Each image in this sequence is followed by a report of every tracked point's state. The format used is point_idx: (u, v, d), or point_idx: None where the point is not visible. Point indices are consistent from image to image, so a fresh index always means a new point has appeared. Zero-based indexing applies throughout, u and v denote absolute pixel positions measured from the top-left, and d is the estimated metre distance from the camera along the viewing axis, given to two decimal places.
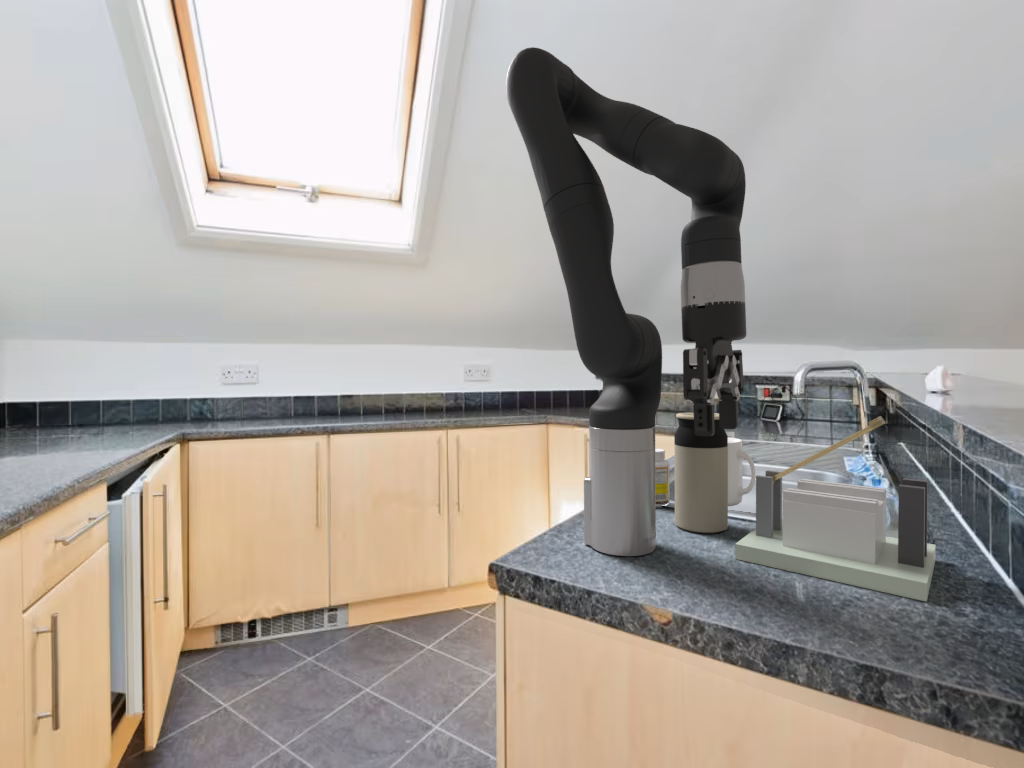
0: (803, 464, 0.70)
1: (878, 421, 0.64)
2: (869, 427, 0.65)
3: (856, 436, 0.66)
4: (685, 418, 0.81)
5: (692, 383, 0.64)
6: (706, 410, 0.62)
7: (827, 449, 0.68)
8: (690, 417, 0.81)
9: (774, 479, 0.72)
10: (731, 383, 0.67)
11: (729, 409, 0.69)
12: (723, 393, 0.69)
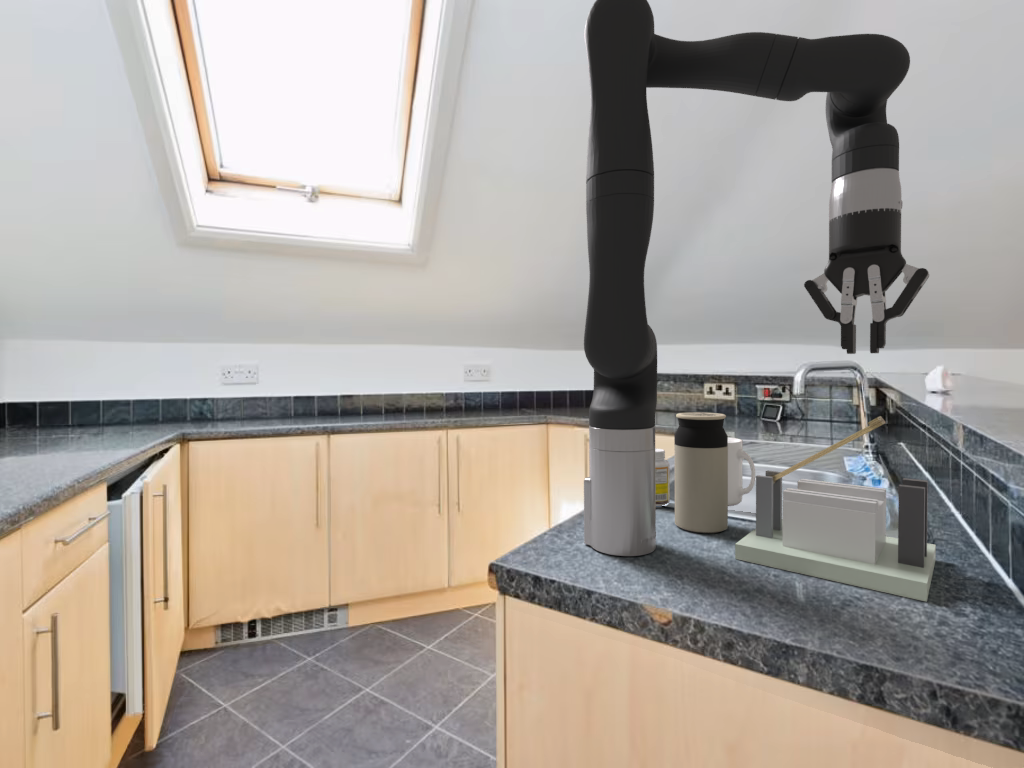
0: (803, 464, 0.70)
1: (878, 421, 0.64)
2: (869, 427, 0.65)
3: (856, 436, 0.66)
4: (685, 418, 0.81)
5: (882, 300, 0.64)
6: (885, 327, 0.65)
7: (827, 449, 0.68)
8: (690, 417, 0.81)
9: (774, 479, 0.72)
10: (856, 300, 0.67)
11: (854, 333, 0.67)
12: None
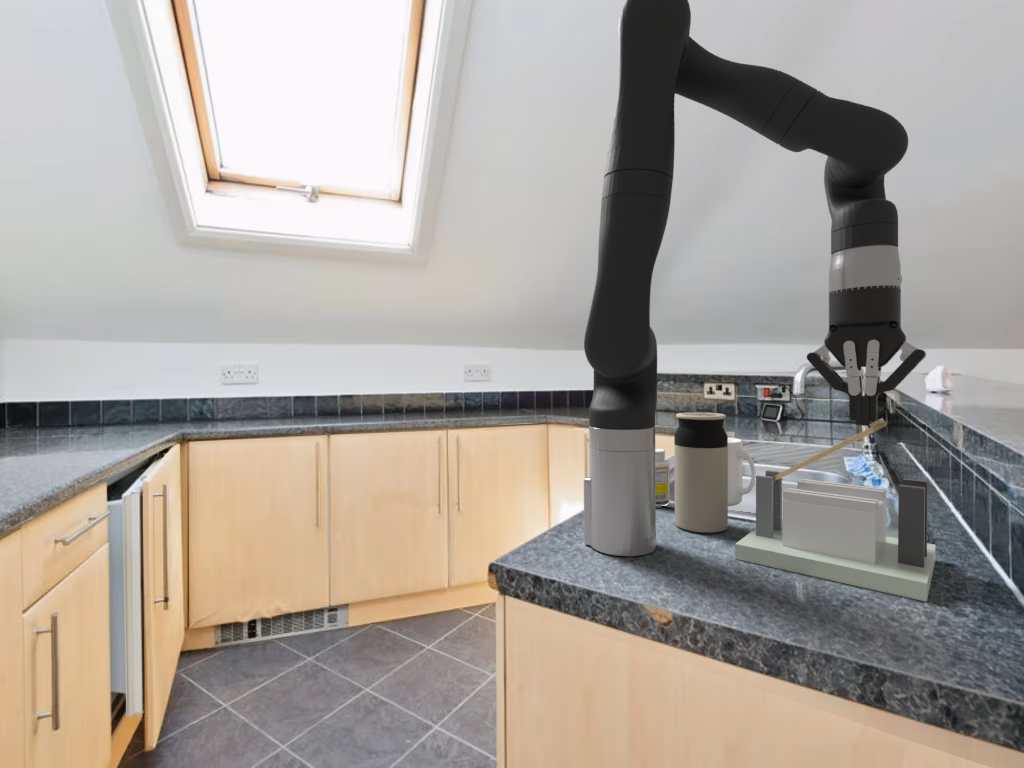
0: (803, 465, 0.70)
1: (880, 423, 0.64)
2: (870, 429, 0.65)
3: (857, 438, 0.66)
4: (685, 418, 0.81)
5: (877, 376, 0.64)
6: (877, 400, 0.66)
7: (828, 450, 0.68)
8: (690, 417, 0.81)
9: (774, 479, 0.72)
10: (860, 370, 0.67)
11: None
12: None
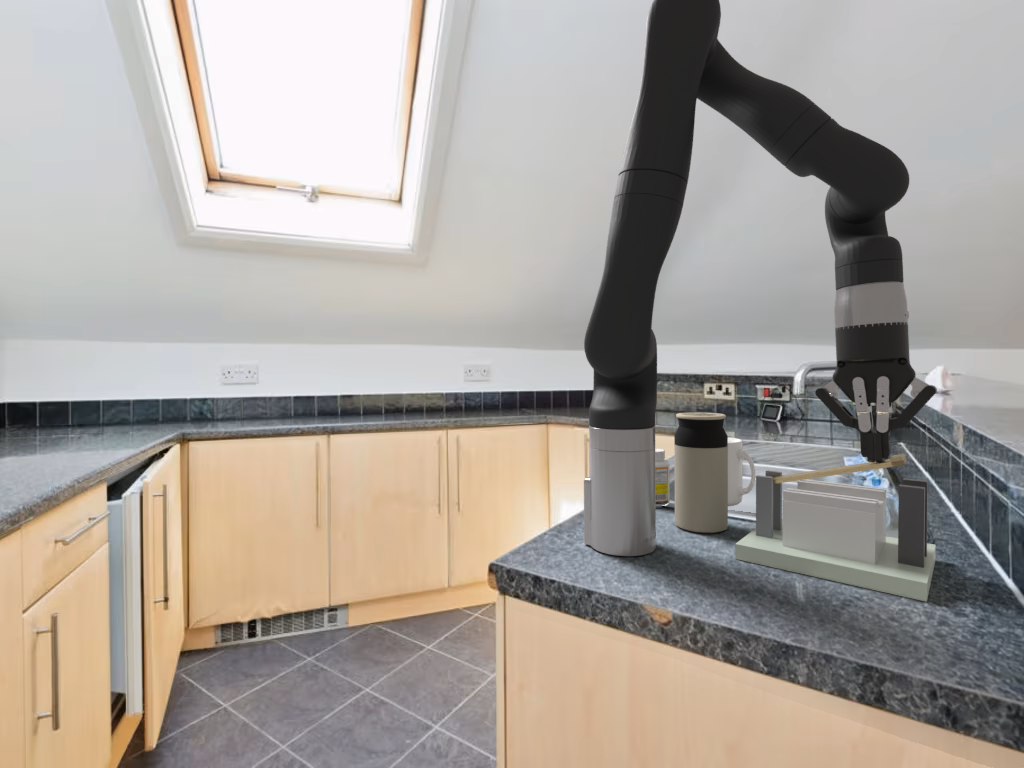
0: (809, 477, 0.69)
1: (901, 460, 0.63)
2: (889, 463, 0.64)
3: (873, 467, 0.65)
4: (685, 418, 0.81)
5: (888, 412, 0.64)
6: (889, 436, 0.65)
7: (839, 471, 0.67)
8: (690, 417, 0.81)
9: (775, 482, 0.72)
10: (870, 406, 0.67)
11: (874, 440, 0.66)
12: None
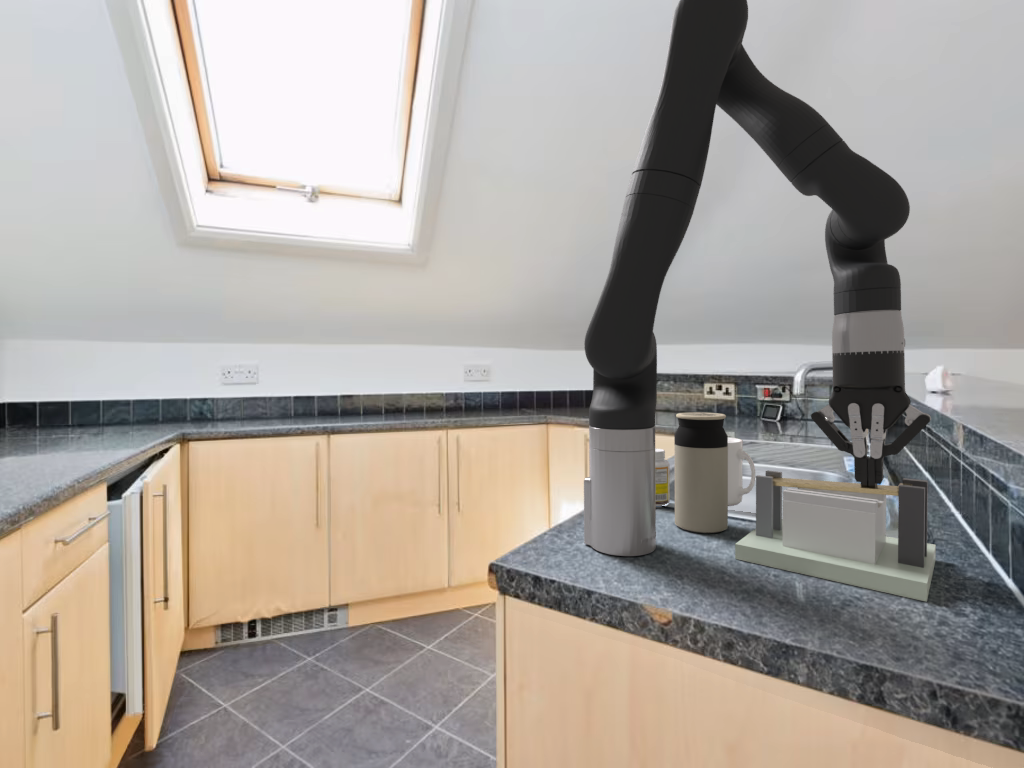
0: (811, 487, 0.69)
1: None
2: (895, 492, 0.63)
3: (877, 492, 0.64)
4: (685, 418, 0.81)
5: (882, 439, 0.64)
6: None
7: (842, 487, 0.67)
8: (690, 417, 0.81)
9: (775, 484, 0.72)
10: (865, 431, 0.67)
11: None
12: None
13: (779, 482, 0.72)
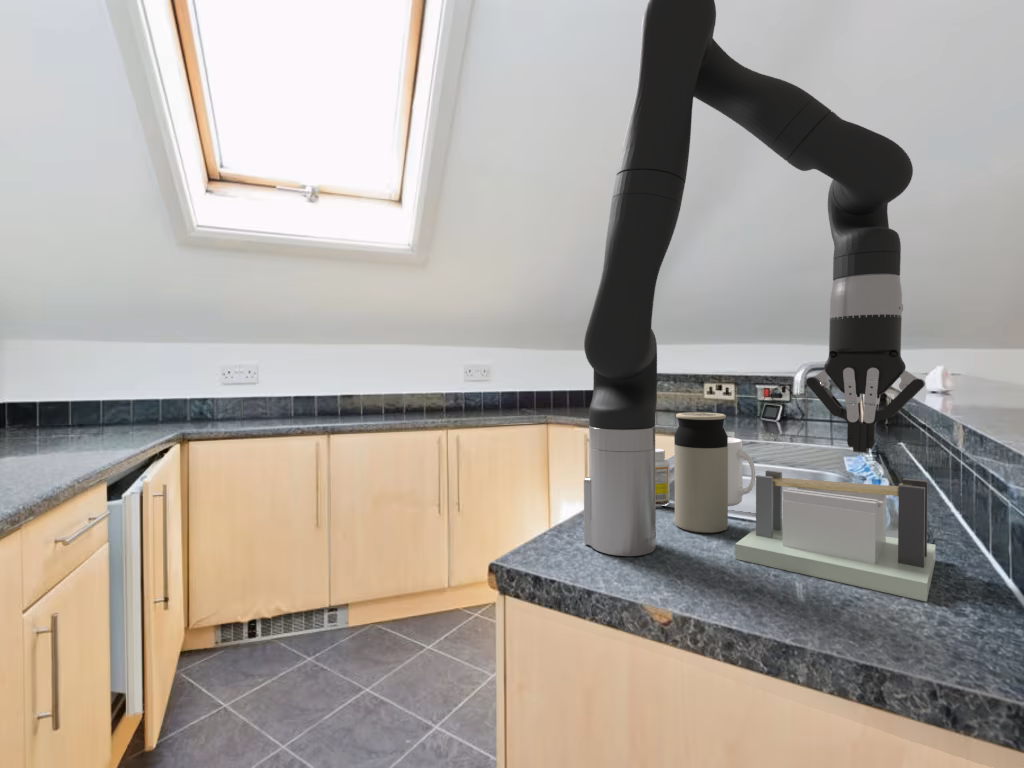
0: (811, 487, 0.69)
1: None
2: (895, 492, 0.63)
3: (877, 492, 0.64)
4: (685, 418, 0.81)
5: (876, 403, 0.64)
6: (875, 427, 0.66)
7: (842, 487, 0.67)
8: (690, 417, 0.81)
9: (775, 484, 0.72)
10: (859, 397, 0.68)
11: None
12: None
13: (779, 482, 0.72)
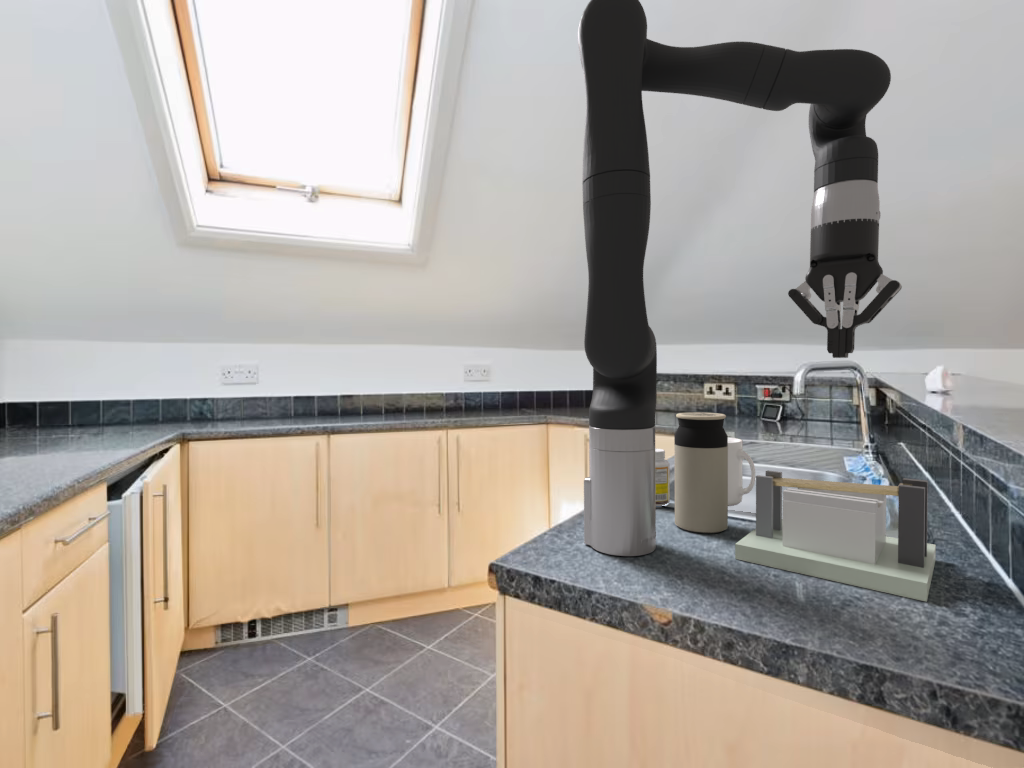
0: (811, 487, 0.69)
1: None
2: (895, 492, 0.63)
3: (877, 492, 0.64)
4: (685, 418, 0.81)
5: (854, 308, 0.67)
6: (854, 333, 0.68)
7: (842, 487, 0.67)
8: (690, 417, 0.81)
9: (775, 484, 0.72)
10: (839, 305, 0.70)
11: None
12: None
13: (779, 482, 0.72)
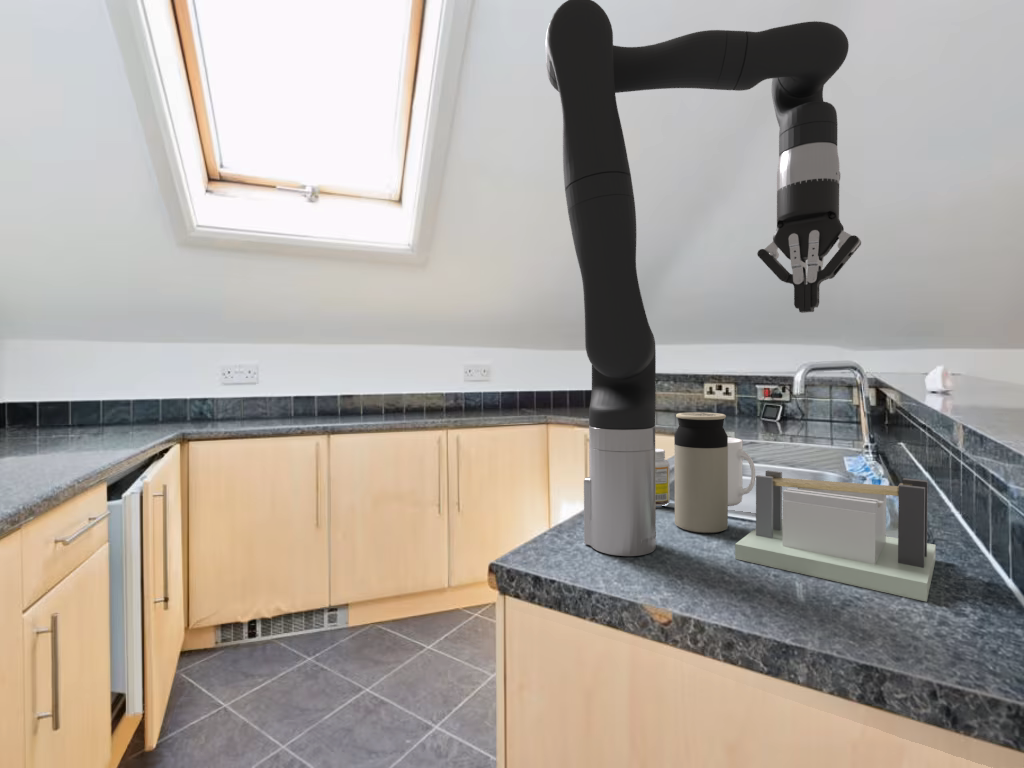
0: (811, 487, 0.69)
1: None
2: (895, 492, 0.63)
3: (877, 492, 0.64)
4: (685, 418, 0.81)
5: (817, 263, 0.71)
6: None
7: (842, 487, 0.67)
8: (690, 417, 0.81)
9: (775, 484, 0.72)
10: (805, 263, 0.74)
11: None
12: None
13: (779, 482, 0.72)
